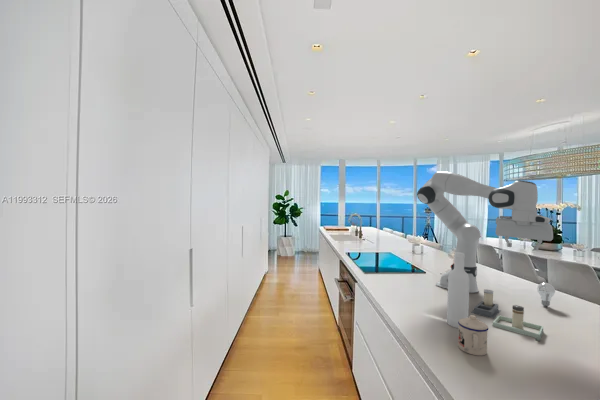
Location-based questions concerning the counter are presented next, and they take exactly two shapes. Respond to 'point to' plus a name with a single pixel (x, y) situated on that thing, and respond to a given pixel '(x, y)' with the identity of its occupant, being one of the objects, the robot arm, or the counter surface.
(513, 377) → the counter surface
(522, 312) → the fuse
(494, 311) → the fuse block
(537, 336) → the parts tray
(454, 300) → the bottle
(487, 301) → the fuse
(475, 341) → the teacup with lid
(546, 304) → the light bulb
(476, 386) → the counter surface
